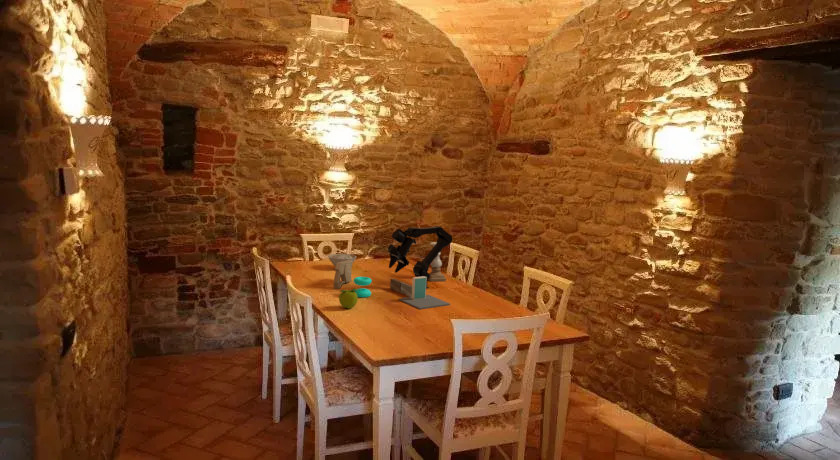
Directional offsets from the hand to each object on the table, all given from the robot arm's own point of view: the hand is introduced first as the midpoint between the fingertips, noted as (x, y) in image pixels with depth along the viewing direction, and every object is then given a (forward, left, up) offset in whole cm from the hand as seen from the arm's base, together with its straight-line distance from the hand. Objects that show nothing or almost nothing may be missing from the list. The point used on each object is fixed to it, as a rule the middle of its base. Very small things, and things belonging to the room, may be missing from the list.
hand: (392, 270), depth 306 cm
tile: (-3, +22, -12) cm, 26 cm away
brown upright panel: (-3, +6, -12) cm, 14 cm away
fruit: (+39, +20, -13) cm, 45 cm away
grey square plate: (-3, +28, -12) cm, 31 cm away
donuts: (+21, +2, -13) cm, 24 cm away
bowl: (0, -64, -13) cm, 65 cm away
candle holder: (-42, -14, -13) cm, 46 cm away
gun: (+19, -25, -13) cm, 34 cm away
